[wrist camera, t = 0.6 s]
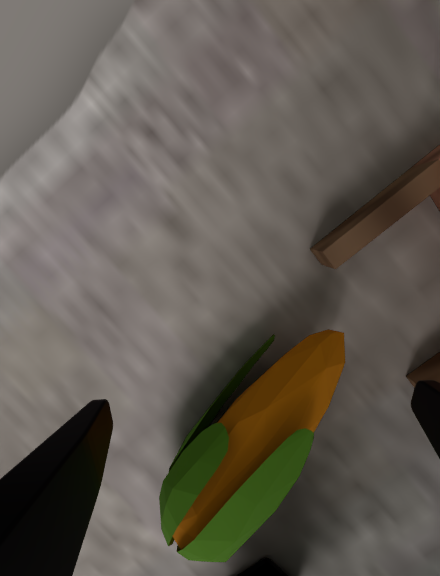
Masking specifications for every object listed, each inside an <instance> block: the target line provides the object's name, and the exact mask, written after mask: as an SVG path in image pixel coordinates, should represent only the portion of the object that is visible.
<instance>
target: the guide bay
mask: <svg viewBox="0 0 440 576" xmlns="http://www.w3.org/2000/svg"><path fill="white" fill-rule="evenodd" d="M429 195H430V196H431V198H432V199H433V201H434V203H435V204H436V206H437V207H438V209H439V211H440V145H439V146H437V147H436V148H435V149H434V150H432V151H431V152H430V153H429V154H427V155H426V156H425V157H424V158H422V159H421V160H420V161H419V162H417V163H416V164H415V165H414V166H412V167H411V168H410V169H409V170H408V171H406V172H405V173H404V174H403V175H401V176H400V177H399V178H398V179H396V180H395V181H394V182H393V183H391V184H390V185H389V186H388V187H386V188H385V189H384V190H383V191H381V192H380V193H379V194H378V195H376V196H375V197H374V198H373V199H371V200H370V201H369V202H368V203H366V204H365V205H364V206H363V207H361V208H360V209H359V210H358V211H356V212H355V213H354V214H353V215H352V216H350V217H349V218H348V219H347V220H345V221H344V222H343V223H342V224H340V225H339V226H338V227H337V228H335V229H334V230H333V231H332V232H330V233H329V234H328V235H327V236H325V237H324V238H323V239H322V240H320V241H319V242H318V243H317V244H315V245H314V246H313V247H312V248H310V250H311V251H312V253H313V254H314V255H315V256H316V258H317V259H318V260H319V262H320V263H321V264H322V265H324V266H327V267H330V268H333V269H336V268H338V267H339V266H340V265H342V264H343V263H344V262H345V261H347V260H348V259H349V258H350V257H352V256H353V255H354V254H356V253H357V252H358V251H359V250H361V249H362V248H363V247H364V246H366V245H367V244H368V243H370V242H371V241H372V240H373V239H375V238H376V237H377V236H378V235H380V234H381V233H382V232H384V231H385V230H386V229H387V228H389V227H390V226H391V225H392V224H394V223H395V222H396V221H398V220H399V219H400V218H401V217H403V216H404V215H405V214H406V213H408V212H409V211H410V210H412V209H413V208H414V207H415V206H417V205H418V204H419V203H420V202H422V201H423V200H424V199H426V198H427V197H428V196H429ZM406 377H407V378H408V380H409V381H410V382H411V384H412V385H413V386H414V388H415V385H416V383H417V382H418V381H420V380H435V381H437V382H439V383H440V352H439V353H438V354H436V355H435V356H433V357H432V358H431V359H429V360H428V361H426V362H425V363H424V364H422V365H421V366H419V367H418V368H417V369H415V370H414V371H412V372H411V373H410V374H408V375H407V376H406Z"/></svg>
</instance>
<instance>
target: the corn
mask: <svg viewBox="0 0 440 576" xmlns="http://www.w3.org/2000/svg"><path fill="white" fill-rule="evenodd" d="M274 338H275V335H274V334H273V335H272V337H271V338H270V339H269V340H268V341H267V342H266V343H265V344H264V345H263V346H262V347H261V348H260V349H259V350H258V351H257V352H256V353H255V354H254V355H253V356H252V357H251V358H250V359H249V360H248V361H247V362H246V363H245V364H244V365H243V366H242V368H241V369H240V370H239V371H238V372H237V373H236V375H235V376H234V377H233V379H232V380H231V381H230V382H229V384H228V385H227V386H226V387H225V389H224V390H223V391H222V392H221V394H220V395H219V396H218V397H217V399H216V400H215V401H214V402H213V404H212V405H211V406H210V407H209V409H208V410H207V411H206V412H205V414H204V415H203V416H202V418H201V419H200V420H199V421H198V423H197V424H196V425H195V426H194V428H193V429H192V430H191V431H190V433H189V434H188V435H187V437H186V439H185V440H184V442H183V444H182V446H181V448H180V450H179V452H178V453H177V455H176V457H175V459H174V461H173V463H172V464H171V466H170V468H169V473H168V475H167V476H166V478H165V479H164V481H163V484H162V488H161V492H160V497H159V500H160V514H161V529H162V531H163V534H164V537H165V539H166V542H167V544H168V546H170V545H172V544H173V541H174V540H175V541H176V543H177V545H178V546H177V552H178V553H179V554H181V555H182V556H183V557H185V558H186V559H188V560H193V561H206V562H226V561H227V560H228V559H229V558H230V557H231V556H232V555H233V554H234V553H235V552H236V551H237V550H238V549H239V548H240V547H241V546H242V545H243V544H244V543H245V542H246V541H247V540H248V539H249V538H250V537H251V536H252V535H253V534H254V533H255V531H256V530H257V529H258V528H259V527H260V526H261V525H262V524H263V523H264V522H265V521H266V520H267V519H268V518H269V517H270V516H271V515H272V514H273V513H274V512H275V511H276V510H277V508H278V507H279V505H280V504H281V502H282V501H283V499H284V498H285V496H286V495H287V493H288V492H289V491H290V489H291V488H292V486H293V485H294V483H295V482H296V480H297V479H298V477H299V476H300V473H301V471H302V469H303V466H304V464H305V462H306V459H307V457H308V455H309V452H310V449H311V446H312V442H313V439H314V431H315V429H316V428H317V426H318V424H319V422H320V421H321V419H322V417H323V415H324V414H325V412H326V410H327V408H328V407H329V404H330V401H331V399H332V396H333V393H334V391H335V388H336V385H337V383H338V380H339V378H340V375H341V372H342V370H343V367H344V364H345V347H344V333H342V332H338V331H333V330H329V329H328V330H325V331H322V332H319V333H315V334H312V335H309V336H308V337H306V338H305V339H304V340H303V341H301V342H300V343H299V344H297V345H296V346H295V347H293V348H292V349H291V350H290V351H288V352H287V353H286V354H285V355H283V356H282V357H281V358H280V359H279V360H278V361H277V362H276V363H275V364H274V365H273V366H271V367H270V368H269V369H268V370H267V371H266V372H265V373H264V374H263V375H262V376H261V377H259V378H258V379H257V380H256V381H255V382H254V383H253V384H252V385H251V386H250V387H249V388H247V389H246V390H245V391H244V392H243V393H242V394H241V395H240V396H239V397H238V398H237V399H236V400H235V401H234V402H233V403H232V405H231V406H230V407H229V408H228V410H227V411H226V412H225V413H224V415H223V416H222V417H221V418H220V420H219V421H218V422H217V423H214V424H213V425H211V426H210V427H209V425H210V424H211V422H212V421H213V419H214V418H215V416H216V415H217V413H218V412H219V410H220V408H221V407H222V406H223V404H224V403H225V402H226V401H227V400H228V398H229V397H230V396H231V395H232V393H233V392H234V391H235V390H236V388H237V387H238V386H239V385H240V383H241V382H242V381H243V379H244V378H245V376H246V375H247V374H248V372H249V371H250V369H251V368H252V367H253V366H254V364H255V363H256V362H257V361H258V360H259V358H260V357H261V356H262V355H263V354H264V352H265V351H266V350H267V349H268V347H269V346H270V345H271V344H272V342H273V341H274Z"/></svg>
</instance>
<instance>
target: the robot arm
mask: <svg viewBox="0 0 440 576" xmlns="http://www.w3.org/2000/svg"><path fill="white" fill-rule="evenodd" d="M411 408H412V410H413V412H414V414H415V416H416V418H417V420H418V421H419V423H420V425H421V427H422V428H423V430H424V432H425V434H426V436H427V437H428V439H429V441H430V443H431V444H432V446H433V448H434V450H435V452H436V453H437V455H438V457H439V458H440V383H439V382H437V381H435V380H420V381H418V382H417V383H416V385H415V388H414V392H413V396H412V400H411ZM112 430H113V420H112V415H111V411H110V406H109V402H108V400H106V399H101V400H92V401H91V402H89V403H88V404H87V405H86V406H85V407H84V408H82V409H81V410H80V411H79V412H78V413H77V414H75V415H74V416H73V417H72V418H71V419H70V420H68V421H67V422H66V423H65V424H64V425H63V426H61V427H60V428H59V429H58V430H57V431H56V432H54V433H53V434H52V435H51V436H50V437H49V438H47V439H46V440H45V441H44V442H43V443H42V444H41V445H39V446H38V447H37V448H36V449H35V450H34V451H32V452H31V453H30V454H29V455H28V456H27V457H25V458H24V459H23V460H22V461H21V462H20V463H18V464H17V465H16V466H15V467H14V468H13V469H11V470H10V471H9V472H8V473H7V474H6V475H4V476H3V477H2V478H1V479H0V576H72V575H73V572H74V568H75V565H76V562H77V559H78V556H79V553H80V550H81V547H82V543H83V540H84V537H85V534H86V531H87V528H88V525H89V521H90V518H91V515H92V512H93V509H94V506H95V503H96V499H97V496H98V493H99V489H100V486H101V482H102V477H103V473H104V468H105V463H106V458H107V454H108V449H109V444H110V439H111V435H112ZM239 576H288V575H287V574H285V573H284V572H283V571H282V570H281V569H280V568H279V567H278V566H277V565H276V564H275V563H274V562H273V561H272V560H271V559H269V558H264V559H262V560H261V561H259V562H258V563H256V564H255V565H254V566H252V567H251V568H249V569H248V570H246V571H245V572H243V573H242V574H240V575H239Z"/></svg>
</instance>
